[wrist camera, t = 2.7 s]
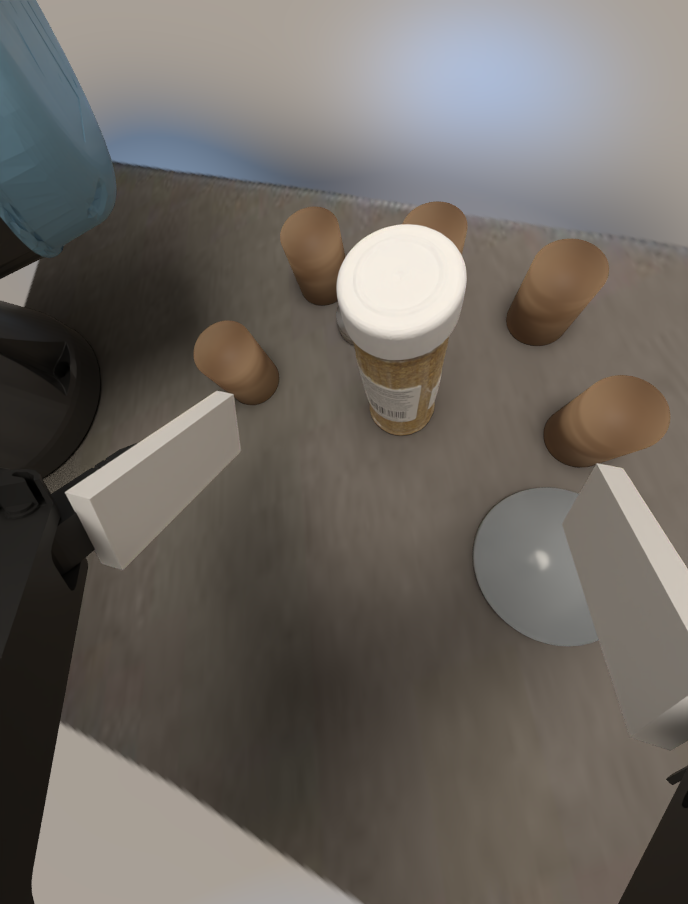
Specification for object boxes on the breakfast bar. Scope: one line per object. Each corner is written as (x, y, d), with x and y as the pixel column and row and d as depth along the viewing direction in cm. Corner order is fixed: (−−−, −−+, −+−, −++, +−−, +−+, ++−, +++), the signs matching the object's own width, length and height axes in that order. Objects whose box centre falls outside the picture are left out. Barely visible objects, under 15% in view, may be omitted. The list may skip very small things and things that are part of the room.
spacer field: (220, 389, 27) (181, 360, 23) (346, 211, 29) (335, 149, 24) (531, 587, 21) (569, 604, 16) (669, 346, 23) (741, 298, 18)
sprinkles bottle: (447, 403, 24) (499, 263, 11) (402, 450, 24) (402, 361, 11) (399, 364, 26) (397, 195, 13) (355, 408, 25) (307, 283, 12)
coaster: (445, 581, 22) (446, 583, 21) (517, 462, 23) (520, 460, 22) (587, 677, 20) (593, 682, 19) (661, 541, 21) (668, 542, 20)
